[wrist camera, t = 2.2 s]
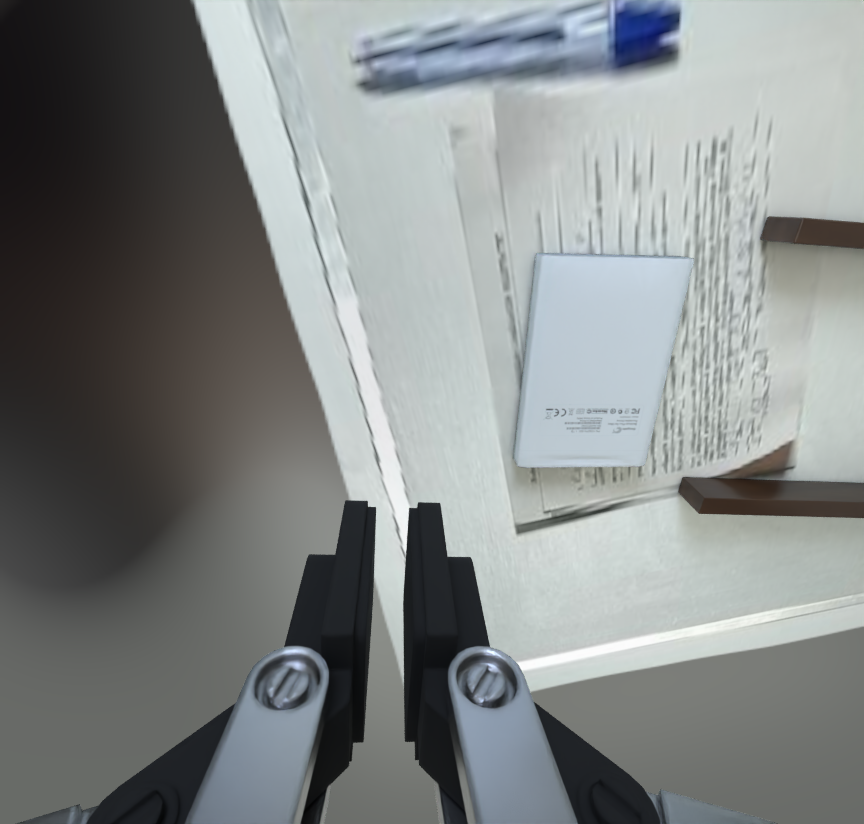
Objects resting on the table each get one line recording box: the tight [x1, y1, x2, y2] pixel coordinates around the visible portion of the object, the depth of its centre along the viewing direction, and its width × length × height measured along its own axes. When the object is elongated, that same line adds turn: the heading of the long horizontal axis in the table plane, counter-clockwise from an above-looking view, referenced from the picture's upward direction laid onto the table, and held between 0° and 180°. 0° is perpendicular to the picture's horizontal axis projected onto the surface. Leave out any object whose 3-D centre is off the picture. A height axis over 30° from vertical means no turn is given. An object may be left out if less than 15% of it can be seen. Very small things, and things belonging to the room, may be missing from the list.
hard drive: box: [513, 253, 694, 468], centre depth 28 cm, size 2×8×12 cm
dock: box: [678, 217, 864, 518], centre depth 29 cm, size 17×16×2 cm
